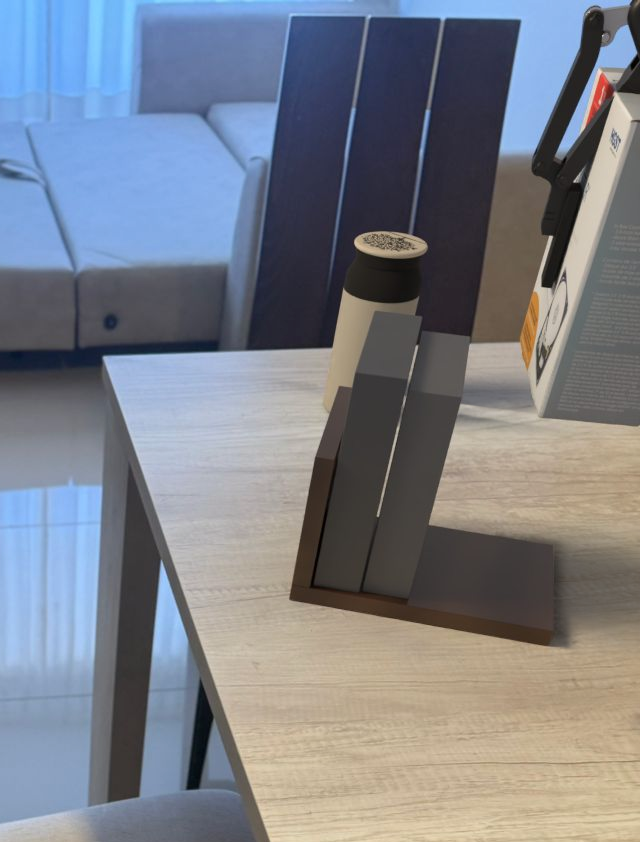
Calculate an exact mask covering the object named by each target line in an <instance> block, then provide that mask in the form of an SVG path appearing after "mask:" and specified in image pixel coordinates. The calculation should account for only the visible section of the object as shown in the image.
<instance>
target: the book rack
mask: <svg viewBox="0 0 640 842" xmlns="http://www.w3.org/2000/svg"><path fill="white" fill-rule="evenodd" d="M351 390H352V387H345V386H339V387H338V390H337V393H336V396H335V399H334V402H333V405H332V408H331V411H330V412H329V414H328V417H327V420H326V422H325V426H324V429H323V432H322V435H321V437H320V441H319V444H318V447H317V449H316V453H315V456H314V461H313V466H312V471H311V477H310V482H309V488H308V493H307V498H306V504H305V509H304V514H303V520H302V526H301V531H300V537H299V543H298V548H297V552H296V558H295V565H294V568H293V569H294V571H293V575H292V580H291V586H290V591H289V597H288V599H289V600H291V601H296V602H302V603H308V604H313V605H318V606H323V607H330V608H335V609H341V610H345V611H351V612H357V613H363V614H369V615H374V616H380V617H385V618H389V619H390V618H391V619H395V620H396V619H397V620H401V621H408V622H412V623H419V624H423V625H428V626H429V625H430V626H435V627H441V628H446V629H452V630H457V631H463V632H469V633H475V634H480V635H485V636H491V637H497V638H502V639H508V640H513V641H519V642H523V643H524V642H525V643H529V644H534V645H541V646H545V647H546V646H547V647H549V645H550V643H551V640H552V637H553V635H554V631H555V629H554V628H555V627H554V626H555V625H554V621H555V619H554V618H555V616H554V615H555V613H554V612H555V611H554V610H555V607H554V606H555V605H554V603H555V602H554V601H555V598H554V597H555V596H554V592H555V590H554V589H555V587H554V585H555V584H554V581H555V579H554V571H555V570H554V567H555V565H554V564H555V563H554V562H555V561H554V556H555V554H554V553H555V552H554V551H555V550H554V548H555V547H554V544H552V543H551V544H549V543H545V542H538V541H531V540H526V539H519V538H512V537H507V536H500V535H494V534H487V533H481V532H476V531H469V530H463V529H457V528H451V527H446V526H445V527H444V526H439V525H432V524H428V528H427V532H426V536H425V539H424V543H423V547H422V551H421V554H420V558H419V562H418V566H417V569H416V573H415V577H414V581H413V585H412V588H411V592H410V596H409V599H404V598H399V597H393V596H387V595H382V594H376V593H370V592H364V591H362V589H363V584H364V580H365V575H366V571H367V566H368V562H369V558H370V553H371V549H372V544H373V540H374V536H375V531H376V527H377V522H378V518H379V516H377V517H376V522H375V526H374V530H373V535H372V539H371V543H370V548H369V552H368V556H367V561H366V565H365V569H364V574H363V578H362V582H361V587H360V591H359V593H354V592H348V591H342V590H337V589H331V588H325V587H320V586H314V585H313V583H314V578H315V573H316V568H317V562H318V557H319V552H320V547H321V542H322V537H323V532H324V527H325V522H326V517H327V512H328V507H329V502H330V497H331V492H332V486H333V481H334V476H335V471H336V466H337V461H338V456H339V451H340V446H341V441H342V436H343V431H344V426H345V421H346V416H347V411H348V405H349V400H350V395H351Z"/></svg>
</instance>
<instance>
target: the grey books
mask: <svg viewBox="0 0 640 842" xmlns="http://www.w3.org/2000/svg"><path fill="white" fill-rule="evenodd" d="M422 321H423V316H422V315H416V314H415V315H407V314H399V313H390V312H382V311H375V312H374V315H373V318H372V321H371V324H370V327H369V330H368V333H367V337H366V340H365V343H364V346H363V349H362V352H361V355H360V359H359V362H358V365H357V368H356V371H355V375H354V380H353V385H352V390H351V395H350V400H349V405H348V411H347V416H346V421H345V426H344V431H343V436H342V441H341V446H340V451H339V456H338V461H337V466H336V471H335V476H334V481H333V486H332V492H331V497H330V502H329V507H328V512H327V517H326V522H325V527H324V532H323V537H322V542H321V547H320V552H319V557H318V562H317V568H316V573H315V578H314V583H313V585H314V586H320V587H325V588H331V589H337V590H342V591H348V592H354V593H359V591H360V587H361V582H362V578H363V574H364V569H365V565H366V561H367V556H368V552H369V548H370V543H371V539H372V535H373V530H374V526H375V522H376V517H379V518H378V522H377V527H376V531H375V536H374V540H373V544H372V549H371V553H370V558H369V562H368V566H367V571H366V575H365V580H364V584H363V589H362V591H364V592H370V593H376V594H382V595H387V596H393V597H399V598H404V599H409V596H410V592H411V588H412V585H413V581H414V577H415V573H416V569H417V566H418V562H419V558H420V554H421V551H422V547H423V543H424V539H425V536H426V532H427V528H428V525H430V521H431V516H432V513H433V509H434V505H435V501H436V497H437V494H438V489H439V487H440V482H441V478H442V475H443V472H444V468H445V464H446V460H447V456H448V452H449V448H450V444H451V441H452V438H453V434H454V429H455V425H456V422H457V418H458V415H459V411H460V407H461V404H462V401H463V400H462V399H463V393H464V386H465V378H466V372H467V365H468V358H469V351H470V344H471V336H469V335H460V334H452V333H446V332H445V333H444V332H436V331H429V330H421V332H420V329H421V326H422ZM419 334H420V336H419ZM419 337H420V338H419ZM418 339H419V342H418ZM417 342H418V345H417ZM416 347H417V349H416ZM415 351H416V354H415ZM414 355H415V356H414ZM414 357H415V359H414ZM413 360H414V362H413ZM412 365H413V367H412ZM411 368H412V372H411ZM410 374H411V375H410ZM409 378H410V381H409ZM408 383H409V385H408ZM407 386H408V389H407ZM406 390H407V394H406ZM405 395H406V398H405ZM404 400H405V402H404ZM403 403H404V405H403ZM403 406H404V407H403ZM402 407H403V411H402ZM401 412H402V414H401ZM400 416H401V419H400ZM399 421H400V423H399ZM398 426H399V427H398ZM397 430H398V432H397ZM396 434H397V436H396ZM395 439H396V440H395ZM394 443H395V445H394ZM393 448H394V450H393ZM392 452H393V454H392ZM391 456H392V458H391ZM390 460H391V462H390ZM388 469H389V471H388ZM387 473H388V475H387ZM386 477H387V480H386ZM385 482H386V483H385ZM384 486H385V488H384ZM383 491H384V492H383ZM382 495H383V496H382ZM381 499H382V501H381ZM380 504H381V506H380ZM379 509H380V510H379ZM378 513H379V514H378Z"/></svg>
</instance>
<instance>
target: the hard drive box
mask: <svg viewBox="0 0 640 842" xmlns="http://www.w3.org/2000/svg"><path fill="white" fill-rule="evenodd" d="M626 68H627V67H606V66H605V67H603V66H601V67H600V66H599V67H597V68H596V74H595V76H594V77H595V78H594V81H593V84H592V87H591V92H590V94H589V98H588V101H587V105H586V109H585V112H584V115H583V119H582V122H581V125H580V129H579V133H578V135H577V136H578V137H579V136H580V134H581V133H582V131H583V130H584V129H585V127H586V126H587V124H588V123H589V122H590V120H591V119H592V117H593V116H594V115H595V113H596V112H597V110H598V109H599V108H600V106H601V105H602V103H603V102H604V101H605V100H606V99H608V98H611V97H613V96H614V95H615V96H614V99H613V102H612V105H611V108H610V111H609V115H608V118H607V121H606V124H605V127H604V130H603V134H602V137H601V140H600V144H599V147H598V149H597V150H596V152H595V153H594V154H593V156H592V157H591V158H590V160H589V161H588V163H587V164H586V165H585V167H584V168H583V169H582V171H581V172H580V173H579V175H578V176H577V178H576V179H575V180H574V182H577V183H580V189H581V194H580V197H579V200H578V203H577V207H576V210H575V213H574V217H573V220H572V223H571V227H570V230H569V233H568V236H567V240H566V243H565V246H564V250H563V253H562V256H561V260H560V263H559V266H558V269H557V273H556V276H555V279H554V283H553V286H552V288H544V287H541V275H542V272H543V269H544V265H545V262H546V259H547V255H548V252H549V248H550V245H551V242H552V238H553V236H548V240H547V242H546V246H545V250H544V253H543V256H542V259H541V263H540V266H539V269H538V273H537V277H536V281H535V284H534V288H533V289H532V290H533V291H532V294H531V297H530V301H529V304H528V308H527V312H526V315H525V318H524V321H523V322H524V323H523V326H522V328H521V333H520V336H519V343H520V347H521V356H522V360H523V362H524V365H525V369H526V373H527V376H528V381H529V385H530V390H531V391H530V394H531V396H532V401H533V403H534V406H535V411H536V414H537V415H536V416H537V417H538V418H540V419H548V420H549V419H551V420H563V421H572V422H583V423H591V424H593V423H594V424H604V425H612V426H613V425H615V426H626V427H632V428H633V427H635V428H637V427H640V93H639V94H633V93H619V92H618V93H617V89H616V84H617V83H618V81H619V80H620V78H621V76H622V74H623V73H624V71H625V70H626ZM578 137H577V138H578Z"/></svg>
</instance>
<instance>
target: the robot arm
mask: <svg viewBox="0 0 640 842" xmlns="http://www.w3.org/2000/svg"><path fill="white" fill-rule="evenodd" d="M624 26H627V27H628V29H629V32H630V35H631V38H632V42H633V44H634V47H635V50H636V53H635V56H634V57H633V58H632V60H631V61H630V63H629V64H628V65H627V67H625V68H626V70H625V71H624V73H623V74H622V76H621V78H620V80H619V81H618V83H617V84H616V89H617V93H618V92H619V93H633V94H639V93H640V0H631V1H630V2H629V4H625V5H617V6H611V7H604V8H602V7H601V6H600V5H597V4H594V5H591V6H589V7H588V8H587V9H586V10H585V11H584V13H583V17H582V26H581V34H580V44H579V48H578V51H577V52H576V55H575V57H574V59H573V62H572V64H571V66H570V69H569V71H568V74H567V76H566V78H565V80H564V83H563V85H562V88H561V89H560V92H559V94H558V97H557V98H556V102H555V103H554V106H553V108H552V110H551V113H550V115H549V118H548V120H547V122H546V125H545V127H544V129H543V131H542V134H541V136H540V139H539V141H538V143H537V145H536V147H535V150H534V152H533V154H532V157H531V173H532V174H533V176H535V177H540V178H542V179H544V180H546V181H547V182H548V183H549V185H550V189H549V193H548V197H547V200H546V203H545V207H544V209H543V214H542V217H541V221H540V233H541V236H548V237H549V236H553V238H552V242H551V245H550V248H549V252H548V255H547V259H546V262H545V265H544V269H543V272H542V275H541V287H544V288H552V286H553V283H554V279H555V276H556V273H557V269H558V266H559V263H560V260H561V256H562V253H563V250H564V246H565V243H566V240H567V236H568V233H569V230H570V227H571V223H572V220H573V217H574V213H575V210H576V207H577V203H578V200H579V197H580V194H581V189H580V183H577V182H574V180H575V179H576V178H577V176H578V175H579V173H580V172H581V171H582V169H583V168H584V167H585V165H586V164H587V163H588V161H589V160H590V158H591V157H592V156H593V154H594V153H595V152H596V150H597V149H598V147H599V144H600V140H601V137H602V134H603V130H604V127H605V124H606V121H607V118H608V115H609V111H610V108H611V105H612V102H613V99H614V96H615V95H614V96H613V97H611V98H608V99H606V100H605V101H604V102H603V103H602V105H601V106H600V108H599V109H598V110H597V112H596V113H595V115H594V116H593V117H592V119H591V120H590V122H589V123H588V124H587V126H586V127H585V129H584V130H583V131H582V133H581V134H580V136H579V135H578V136H579V137H577V138H576V140H575V141H574V143H573V144H572V145H571V146H570V148H569V150H568V151H567V152H566V153H565V155H564V156H563V158H562V159H560V158H559V157H557V156H556V155H557V153H558V150H559V149H560V146H561V143H562V141H563V140H564V137H565V134H566V132H567V131H568V128H569V125H570V124H571V121H572V119H573V116H574V114H575V112H576V109H577V107H578V105H579V103H580V102H581V99H582V96H583V94H584V92H585V89H586V87H587V86H588V83H589V81H590V78H591V76H592V74H593V71H594V69H595V67H596V64H597V62H598V59H599V57H600V52H601V48H605V47H607V46H610V45H611V44H612V43H613V41H614V39H615V37H616V34H617V33H618V31H619V30H620V29H621V28H623V27H624Z"/></svg>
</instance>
